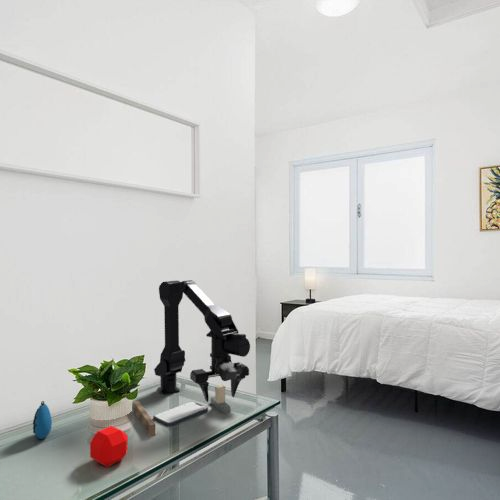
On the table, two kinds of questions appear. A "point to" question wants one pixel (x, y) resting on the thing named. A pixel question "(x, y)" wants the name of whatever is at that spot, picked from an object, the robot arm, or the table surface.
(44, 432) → the ornament
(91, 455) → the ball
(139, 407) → the walnut bar
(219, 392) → the scraper
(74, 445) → the table surface
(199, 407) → the smartphone
